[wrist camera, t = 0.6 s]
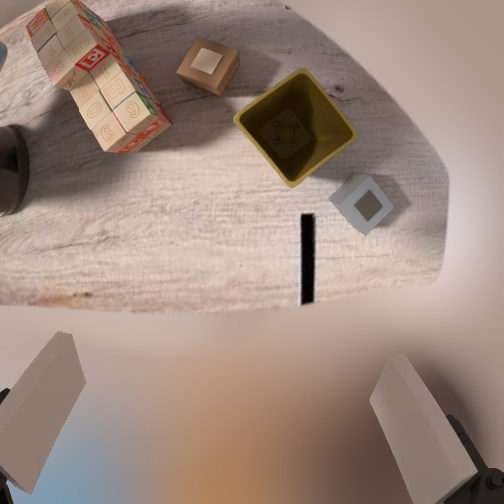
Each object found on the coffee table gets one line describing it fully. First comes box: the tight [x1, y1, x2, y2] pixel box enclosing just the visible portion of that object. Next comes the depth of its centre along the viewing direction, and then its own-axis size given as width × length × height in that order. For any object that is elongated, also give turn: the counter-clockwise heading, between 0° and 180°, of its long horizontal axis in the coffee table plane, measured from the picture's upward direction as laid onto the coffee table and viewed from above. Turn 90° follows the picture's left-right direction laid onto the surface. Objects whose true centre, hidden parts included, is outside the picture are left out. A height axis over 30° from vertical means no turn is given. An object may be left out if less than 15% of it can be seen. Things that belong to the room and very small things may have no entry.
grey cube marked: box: [328, 172, 394, 236], centre depth 33 cm, size 5×5×5 cm
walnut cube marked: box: [176, 37, 240, 97], centre depth 28 cm, size 5×5×5 cm
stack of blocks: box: [26, 0, 173, 153], centre depth 25 cm, size 21×6×12 cm, turn 32°
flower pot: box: [233, 68, 358, 188], centre depth 29 cm, size 9×9×9 cm
